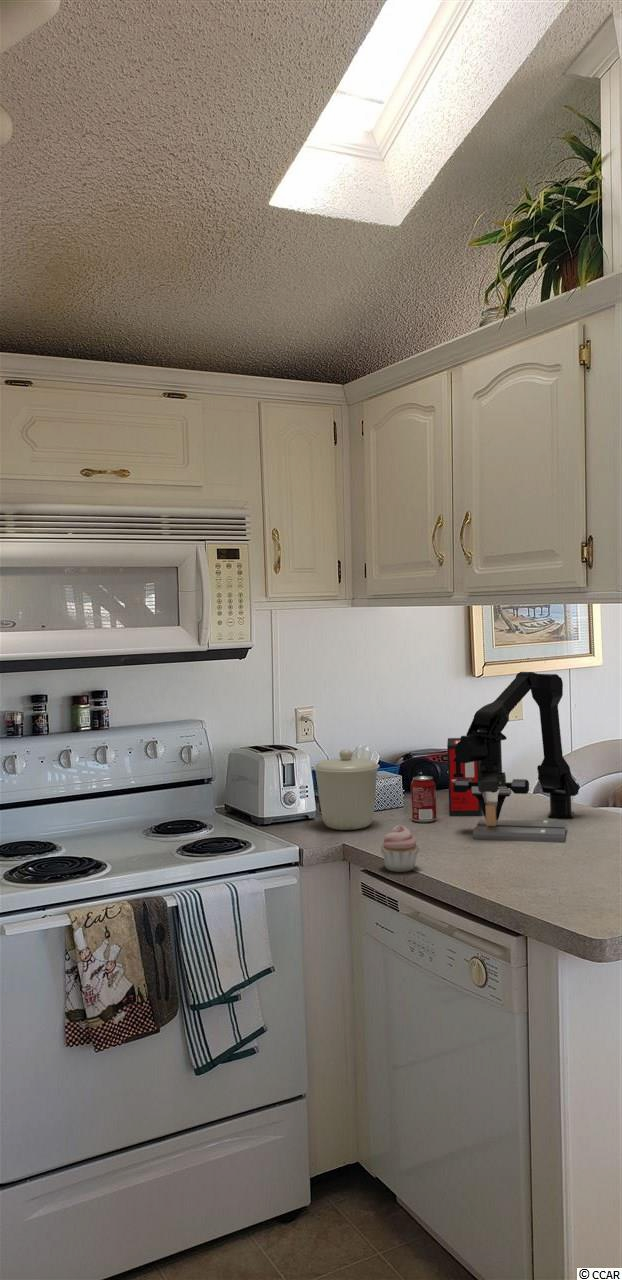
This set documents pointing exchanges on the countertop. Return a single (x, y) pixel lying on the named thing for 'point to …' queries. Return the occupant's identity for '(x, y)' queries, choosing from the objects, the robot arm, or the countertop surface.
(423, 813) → the soda can
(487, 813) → the tan rectangular block
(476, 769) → the cleaning product box
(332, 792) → the canister
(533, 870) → the countertop surface
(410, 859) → the cupcake
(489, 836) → the console
